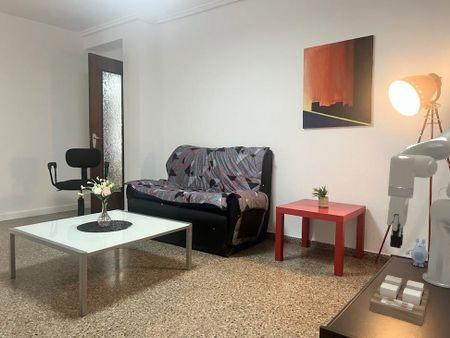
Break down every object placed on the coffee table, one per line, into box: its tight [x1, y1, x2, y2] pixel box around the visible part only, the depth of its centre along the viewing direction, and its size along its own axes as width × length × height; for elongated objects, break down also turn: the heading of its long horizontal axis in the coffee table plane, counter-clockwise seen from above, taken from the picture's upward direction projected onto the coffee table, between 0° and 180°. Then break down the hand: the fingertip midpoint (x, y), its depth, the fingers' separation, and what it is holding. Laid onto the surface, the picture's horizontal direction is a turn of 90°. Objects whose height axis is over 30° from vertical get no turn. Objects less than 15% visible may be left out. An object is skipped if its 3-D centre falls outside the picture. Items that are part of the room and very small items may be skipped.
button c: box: [379, 282, 398, 299], centre depth 109 cm, size 5×5×3 cm
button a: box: [384, 274, 403, 290], centre depth 116 cm, size 5×5×3 cm
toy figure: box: [405, 237, 429, 268], centre depth 145 cm, size 11×6×12 cm, turn 56°
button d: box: [402, 288, 421, 306], centre depth 106 cm, size 5×5×3 cm
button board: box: [369, 278, 430, 327], centre depth 109 cm, size 22×14×4 cm, turn 145°
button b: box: [405, 279, 425, 296], centre depth 112 cm, size 5×5×3 cm
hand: (396, 245), depth 115 cm, fingers open, 2 cm apart
